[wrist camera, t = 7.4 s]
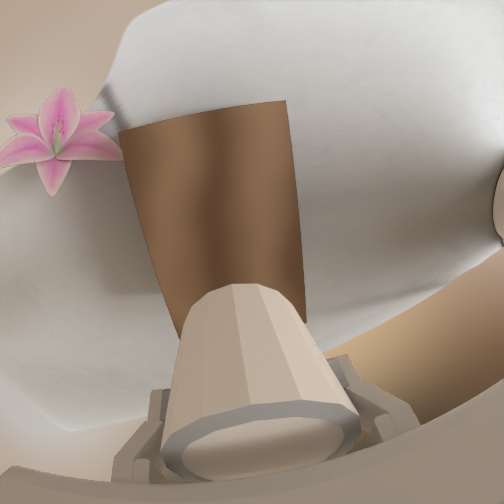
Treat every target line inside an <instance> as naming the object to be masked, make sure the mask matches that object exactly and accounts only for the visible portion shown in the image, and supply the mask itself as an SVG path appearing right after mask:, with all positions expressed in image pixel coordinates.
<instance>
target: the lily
mask: <svg viewBox="0 0 504 504" xmlns="http://www.w3.org/2000/svg"><path fill="white" fill-rule="evenodd" d="M114 115H115V113H113V112H112V111H90V112H84V113H80V107H79V104H78V101H77V99H76V97H75V95H74V94H73V92H72V91H71V89H70V88H69V87H68V86H65V85H63V86H60V87H59V88H57V89H56V90H55V91H54V92H53V93H52V94H51V95H50V96H49V97H48V99H47V100H46V101H45V102H44V104H43V106H42V107H41V109H40V112H39V115H35V114H18V115H11V116H8V117H6V121H7V122H8V124H9V125H10V127H11V128H12V129H13V130H14V131H15V132H16V133H17V135H15V136H13V137H12V138H10V139H9V140H7V141H6V142H5V143H4V144H3V145H2V146H1V147H0V168H4V167H9V166H13V165H19V164H26V163H35V162H36V167H37V170H38V173H39V176H40V179H41V181H42V183H43V185H44V187H45V190H46V191H47V193H48V195H49V196H51V197H54V196H55V195H56V194H57V192H58V190H59V189H60V187H61V185H62V183H63V181H64V179H65V177H66V175H67V173H68V171H69V168H70V166H71V163H72V160H103V161H124V158H123V154H122V149H121V148H120V147H119V146H118V145H117V144H116V143H115V142H114V141H113V140H112V139H111V138H109V137H108V136H107V135H106V134H104V133H103V132H101V131H98V129H100V128H101V127H102V126H103V125H104V124H106V123H107V122H108V121H109V120H110V119H111V118H112V117H113V116H114Z"/></svg>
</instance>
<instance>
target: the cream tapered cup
mask: <svg viewBox="0 0 504 504" xmlns="http://www.w3.org/2000/svg"><path fill="white" fill-rule="evenodd" d="M361 432H362V431H361V422H360V415H359V414H358V412H357V410H356V409H355V407H354V405H353V404H352V402H351V400H350V399H349V397H348V395H347V394H346V392H345V390H344V389H343V387H342V386H341V384H340V382H339V381H338V379H337V377H336V376H335V374H334V372H333V371H332V369H331V367H330V366H329V364H328V362H327V361H326V359H325V358H324V356H323V354H322V352H321V351H320V349H319V347H318V346H317V344H316V342H315V341H314V339H313V338H312V336H311V334H310V333H309V331H308V329H307V328H306V326H305V324H304V323H303V321H302V319H301V318H300V316H299V315H298V313H297V311H296V310H295V308H294V306H293V305H292V304H291V303H290V302H289V301H288V300H287V299H286V298H285V297H284V296H283V295H282V294H281V293H280V292H279V291H277V290H274V289H271V288H268V287H265V286H262V285H259V284H230V285H227V286H224V287H222V288H219V289H216V290H213V291H210V292H208V293H207V294H206V295H205V296H203V297H202V298H201V299H200V300H199V301H198V302H196V303H195V304H194V305H193V306H192V307H191V309H190V311H189V313H188V316H187V318H186V320H185V322H184V325H183V330H182V335H181V339H180V344H179V349H178V354H177V359H176V364H175V369H174V374H173V379H172V385H171V390H170V396H169V401H168V407H167V412H166V418H165V424H164V430H163V436H162V442H161V449H160V453H161V455H162V458H163V460H164V463H165V465H166V467H167V468H168V469H170V470H171V471H173V472H174V473H176V474H177V475H179V476H180V477H182V478H183V479H185V480H189V481H192V482H195V483H202V482H215V481H225V480H233V479H241V478H248V477H255V476H261V475H266V474H272V473H277V472H282V471H287V470H292V469H296V468H300V467H305V466H309V465H313V464H317V463H320V462H324V461H328V460H331V459H334V458H338V457H341V456H343V455H344V454H345V453H346V452H347V451H349V450H350V449H351V448H352V446H353V445H354V443H355V442H356V440H357V438H358V437H359V435H360V434H361Z"/></svg>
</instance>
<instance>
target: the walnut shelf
mask: <svg viewBox="0 0 504 504" xmlns="http://www.w3.org/2000/svg"><path fill="white" fill-rule="evenodd" d="M118 135H119V140H120V145H121V149H122V154H123V158H124V162H125V167H126V171H127V175H128V179H129V183H130V187H131V191H132V195H133V199H134V202H135V206H136V210H137V213H138V217H139V220H140V224H141V227H142V231H143V234H144V238H145V241H146V244H147V247H148V251H149V254H150V257H151V260H152V263H153V266H154V270H155V273H156V276H157V279H158V282H159V284H160V287H161V290H162V293H163V296H164V299H165V302H166V305H167V307H168V310H169V313H170V316H171V318H172V321H173V324H174V326H175V329H176V331H177V334H178V337H179V339H181V335H182V330H183V325H184V322H185V320H186V318H187V316H188V313H189V311H190V309H191V307H192V306H193V305H194V304H195V303H196V302H198V301H199V300H200V299H201V298H202V297H203V296H205V295H206V294H207V293H208V292H210V291H213V290H216V289H219V288H222V287H224V286H227V285H230V284H259V285H262V286H265V287H268V288H271V289H274V290H277V291H279V292H280V293H281V294H282V295H283V296H284V297H285V298H286V299H287V300H288V301H289V302H290V303H291V304H292V305H293V306H294V308H295V310H296V311H297V313H298V315H299V316H300V318H301V319H302V321H303V323H307V320H306V302H305V286H304V271H303V257H302V244H301V232H300V221H299V210H298V200H297V190H296V180H295V171H294V162H293V153H292V145H291V137H290V129H289V121H288V114H287V106H286V100H284V101H274V102H265V103H257V104H250V105H243V106H236V107H230V108H224V109H218V110H212V111H207V112H201V113H196V114H191V115H187V116H182V117H177V118H173V119H169V120H164V121H160V122H156V123H152V124H148V125H144V126H140V127H137V128H133V129H130V130H126V131H123V132H119V133H118Z"/></svg>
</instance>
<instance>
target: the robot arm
mask: <svg viewBox="0 0 504 504" xmlns="http://www.w3.org/2000/svg"><path fill="white" fill-rule="evenodd" d="M493 220H494V225H495V228H496V231H497V233H498V234H499V235H500V236H501V237H502V239H503V244H504V169H503V171H502V173H501V175H500V178H499V180H498V183H497V187H496V191H495V196H494V204H493ZM326 361H327V362H328V364H329V366H330V367H331V369H332V371H333V372H334V374H335V376H336V377H337V379H338V381H339V382H340V384H341V386H342V387H343V389H344V390H345V392H346V394H347V395H348V397H349V399H350V400H351V402H352V404H353V405H354V407H355V409H356V410H357V412H358V414H359V415H360V422H361V427H362V428H364V429H365V430H366V431H368V432H369V433H370V434H369V437H368V440H367V443H366V445H365V449H363V450H360V451H357V452H354V453H351V454H348V455H344V456H341V457H338V458H334V459H331V460H328V461H324V462H320V463H317V464H313V465H309V466H305V467H300V468H296V469H292V470H287V471H282V472H277V473H272V474H266V475H261V476H255V477H248V478H241V479H233V480H225V481H215V482H202V483H185V484H172V483H171V482H170V481H169V480H168V479H167V478H166V477H165V476H164V475H163V474H162V473H161V472H162V471H163V469H164V467H165V466H166V465H165V463H164V460H163V458H162V455H161V453H160V449H161V442H162V436H163V430H164V424H165V418H166V412H167V407H168V401H169V396H170V390H171V389H160V390H152V392H151V396H150V404H149V412H148V421H146V422H144V423H143V424H142V425H141V426H140V427H139V429H138V430H137V431H136V432H135V433H134V435H133V436H132V437H131V438H130V439H129V440H128V442H127V443H126V444H125V445H124V446H123V447H122V449H121V450H120V451H119V452H118V453H117V454H116V456H115V457H114V462H113V469H112V477H111V482H105V481H95V480H87V479H79V478H73V477H66V476H61V475H55V474H50V473H45V472H41V471H37V470H32V469H28V468H24V467H21V466H12V467H10V468H9V469H8V470H6V471H5V472H4V473H3V474H2V475H1V476H0V504H504V379H502V380H501V381H499V382H498V383H496V384H495V385H493V386H492V387H490V388H489V389H487V390H486V391H484V392H482V393H481V394H479V395H478V396H476V397H474V398H473V399H471V400H469V401H467V402H466V403H464V404H462V405H460V406H459V407H457V408H455V409H453V410H451V411H450V412H448V413H446V414H444V415H442V416H440V417H438V418H436V419H435V420H432V421H430V422H428V423H426V424H424V425H422V426H421V425H420V423H419V421H418V420H417V418H416V416H415V415H414V413H413V411H412V409H411V407H410V406H409V404H408V403H406V402H404V401H402V400H400V399H398V398H396V397H394V396H392V395H391V394H389V393H387V392H385V391H383V390H381V389H379V388H377V387H375V386H374V385H371V384H370V383H368V382H366V381H363V382H361V380H360V378H359V376H358V374H357V372H356V370H355V368H354V366H353V365H352V363H351V361H350V359H349V357H348V355H346V354H345V355H341V356H338V357H335V358H334V357H333V358H330V359H326Z"/></svg>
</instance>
